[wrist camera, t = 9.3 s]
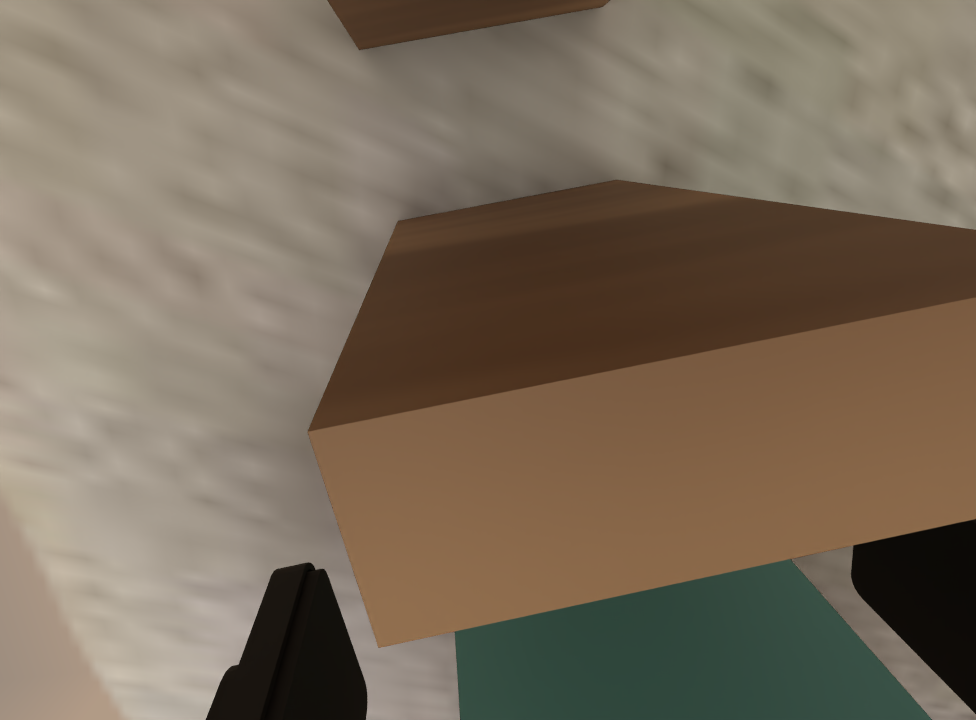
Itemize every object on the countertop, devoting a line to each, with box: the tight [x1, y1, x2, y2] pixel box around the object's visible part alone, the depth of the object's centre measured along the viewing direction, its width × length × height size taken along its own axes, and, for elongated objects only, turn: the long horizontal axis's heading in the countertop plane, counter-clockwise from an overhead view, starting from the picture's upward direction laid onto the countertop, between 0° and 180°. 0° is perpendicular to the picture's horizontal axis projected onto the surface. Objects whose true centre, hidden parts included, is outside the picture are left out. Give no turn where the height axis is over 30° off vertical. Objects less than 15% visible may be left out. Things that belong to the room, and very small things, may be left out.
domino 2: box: [455, 559, 932, 720], centre depth 10 cm, size 2×5×10 cm, turn 99°
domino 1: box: [308, 180, 976, 648], centre depth 8 cm, size 2×5×10 cm, turn 100°
